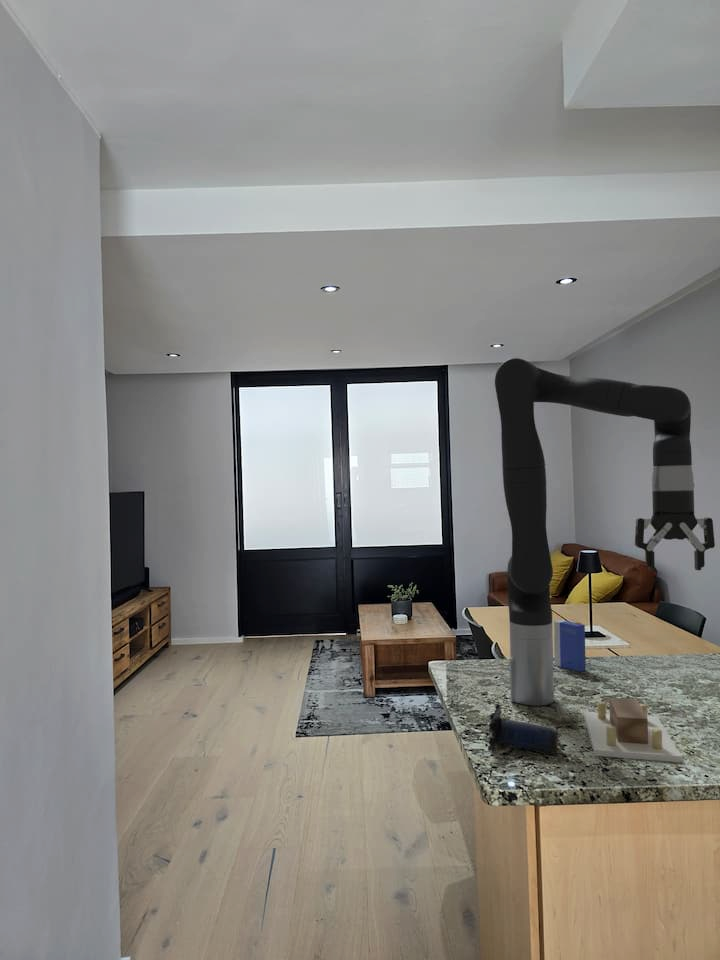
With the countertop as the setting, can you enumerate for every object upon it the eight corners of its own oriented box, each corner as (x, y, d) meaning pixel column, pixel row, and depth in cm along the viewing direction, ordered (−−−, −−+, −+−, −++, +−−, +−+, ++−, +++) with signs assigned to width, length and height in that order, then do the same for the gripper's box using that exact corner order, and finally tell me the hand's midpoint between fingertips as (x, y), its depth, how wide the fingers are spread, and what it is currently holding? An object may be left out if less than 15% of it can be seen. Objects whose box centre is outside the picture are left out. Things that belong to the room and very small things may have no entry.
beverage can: (486, 759, 117) (556, 771, 113) (486, 720, 116) (557, 731, 111) (494, 732, 125) (559, 743, 121) (494, 695, 124) (560, 704, 120)
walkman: (585, 670, 167) (584, 623, 167) (578, 672, 166) (577, 624, 166) (561, 663, 174) (560, 618, 174) (554, 665, 172) (553, 619, 172)
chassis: (594, 755, 114) (594, 732, 114) (583, 716, 134) (583, 696, 134) (681, 762, 111) (681, 738, 111) (657, 721, 130) (657, 701, 130)
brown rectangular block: (618, 742, 118) (617, 716, 118) (609, 720, 128) (609, 697, 128) (648, 744, 116) (647, 718, 116) (637, 722, 127) (636, 699, 127)
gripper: (706, 488, 133) (708, 568, 133) (631, 489, 136) (633, 567, 136) (717, 488, 126) (719, 572, 125) (637, 489, 129) (639, 571, 129)
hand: (674, 569), depth 131 cm, fingers open, 8 cm apart
